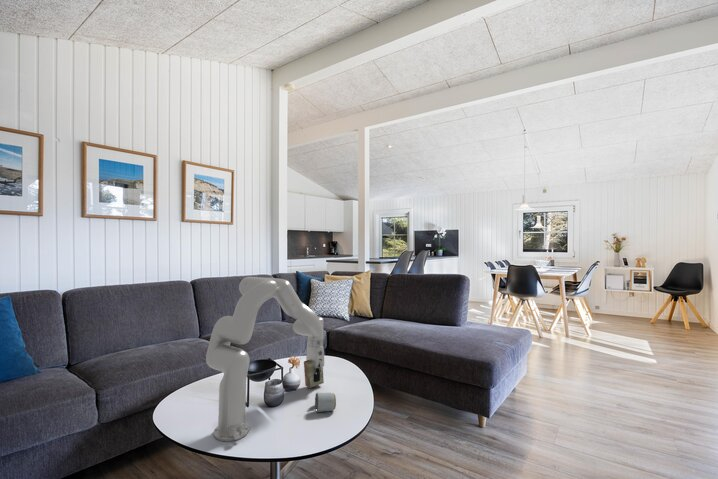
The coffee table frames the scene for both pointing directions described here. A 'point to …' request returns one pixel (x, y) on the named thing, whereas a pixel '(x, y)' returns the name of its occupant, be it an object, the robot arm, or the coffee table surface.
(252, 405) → the coffee table surface
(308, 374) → the slab
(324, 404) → the ceramic mug
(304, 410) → the coffee table surface
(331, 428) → the coffee table surface
